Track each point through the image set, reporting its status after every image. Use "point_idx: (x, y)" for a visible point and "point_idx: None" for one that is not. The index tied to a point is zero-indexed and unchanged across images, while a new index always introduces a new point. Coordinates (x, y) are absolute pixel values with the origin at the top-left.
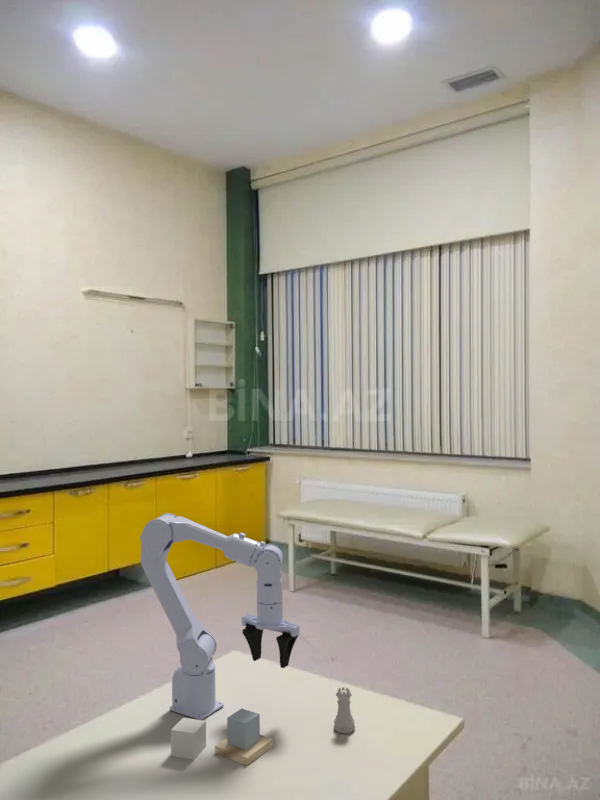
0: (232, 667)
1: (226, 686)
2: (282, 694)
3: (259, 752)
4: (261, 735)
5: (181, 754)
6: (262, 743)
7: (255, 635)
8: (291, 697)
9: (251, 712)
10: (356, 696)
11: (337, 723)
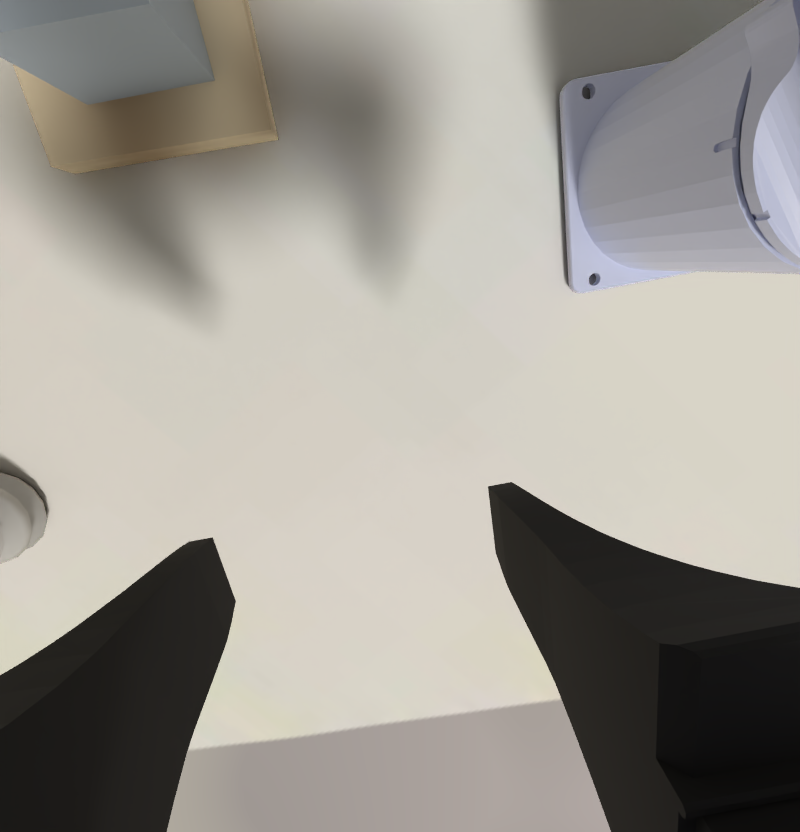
0: (790, 567)
1: (696, 435)
2: (435, 543)
3: None
4: (125, 151)
5: None
6: (39, 82)
7: (605, 700)
8: (385, 549)
9: (31, 8)
10: None
11: None
